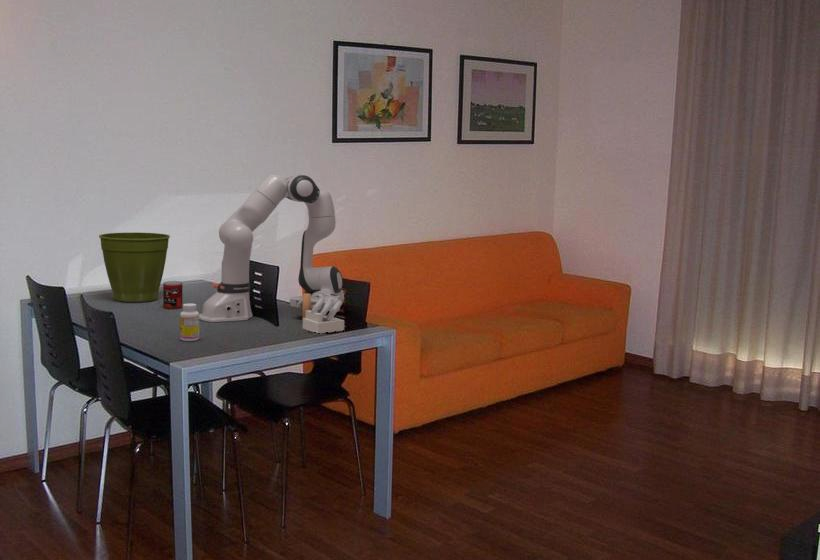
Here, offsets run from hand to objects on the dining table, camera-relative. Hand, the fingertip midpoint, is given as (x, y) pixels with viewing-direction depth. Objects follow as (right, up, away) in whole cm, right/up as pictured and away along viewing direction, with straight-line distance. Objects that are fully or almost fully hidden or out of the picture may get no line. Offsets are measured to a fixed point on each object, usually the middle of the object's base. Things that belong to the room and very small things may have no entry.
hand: (305, 306), depth 340 cm
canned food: (-60, -1, +23) cm, 64 cm away
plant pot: (-81, +2, +39) cm, 90 cm away
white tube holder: (+9, -9, -8) cm, 14 cm away
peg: (0, -7, +2) cm, 7 cm away
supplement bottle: (-37, -11, -34) cm, 52 cm away
